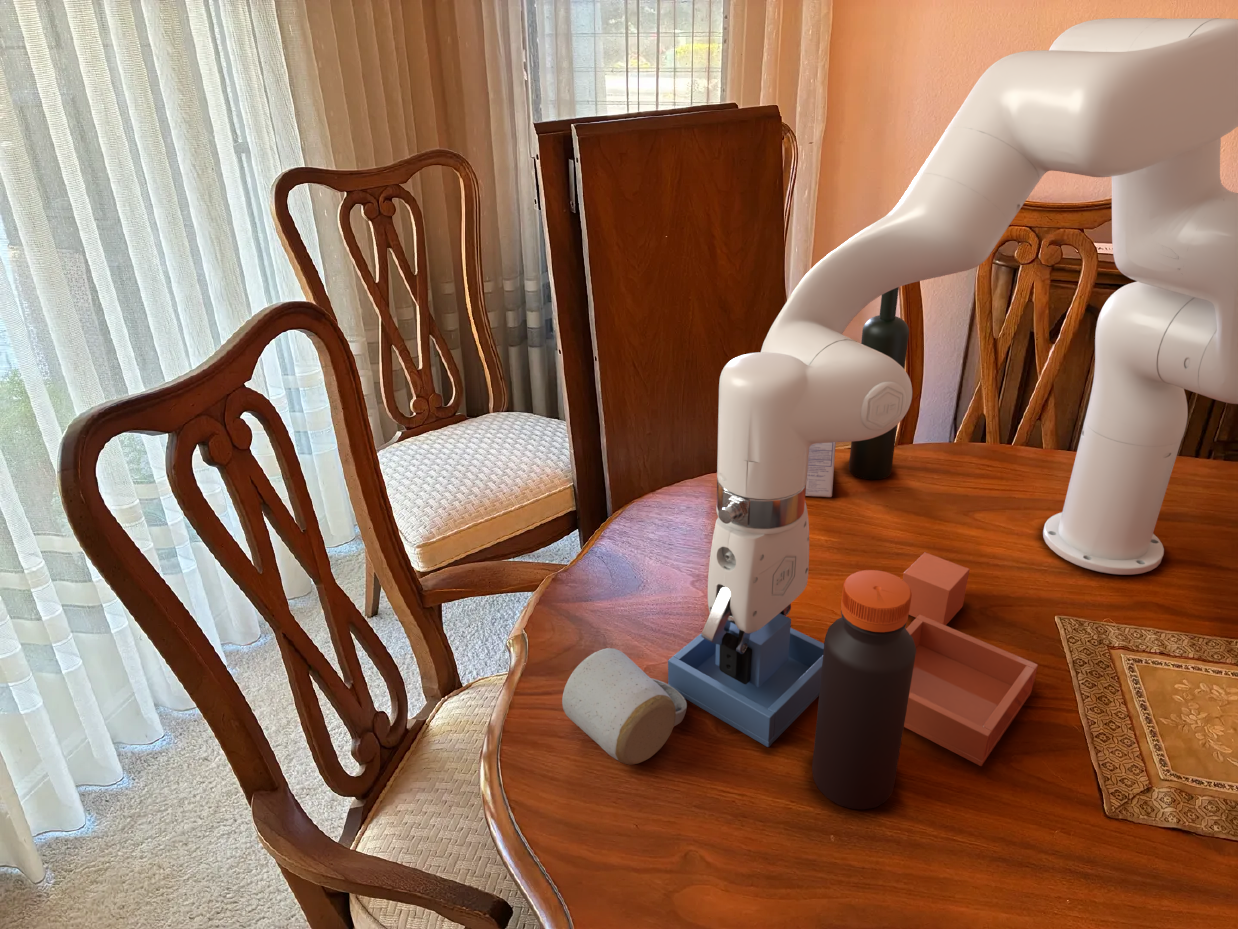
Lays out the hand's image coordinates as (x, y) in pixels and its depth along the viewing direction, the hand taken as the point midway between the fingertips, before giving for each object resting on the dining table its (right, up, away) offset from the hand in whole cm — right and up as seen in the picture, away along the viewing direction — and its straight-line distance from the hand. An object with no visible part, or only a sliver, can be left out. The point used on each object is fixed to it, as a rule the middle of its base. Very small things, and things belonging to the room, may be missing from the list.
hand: (752, 659), depth 82 cm
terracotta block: (+21, +3, +11) cm, 24 cm away
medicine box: (+14, +16, +36) cm, 41 cm away
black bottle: (+7, -8, -9) cm, 14 cm away
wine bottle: (+22, +18, +38) cm, 48 cm away
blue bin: (0, -3, +1) cm, 3 cm away
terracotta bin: (+18, -4, -1) cm, 18 cm away
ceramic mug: (-12, -6, -3) cm, 13 cm away
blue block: (0, 0, 0) cm, 0 cm away
